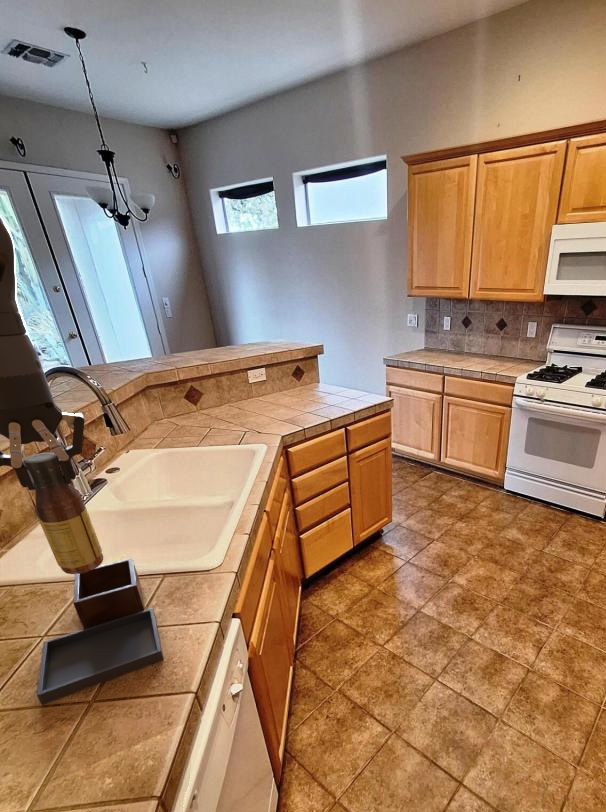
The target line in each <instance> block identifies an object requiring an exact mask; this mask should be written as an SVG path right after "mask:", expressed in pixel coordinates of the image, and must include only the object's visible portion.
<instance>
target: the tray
mask: <svg viewBox="0 0 606 812" xmlns="http://www.w3.org/2000/svg"><path fill="white" fill-rule="evenodd" d="M164 660H165V657H164V653H163V648H162V643H161V638H160V633H159V628H158V622H157V618H156V614H155V609H154V608H153V607H151V608H147V609H145V610H144V611H141V612H138V613H135V614H131V615H128V616H125V617H122V618H119V619H115V620H112V621H109V622H106V623H103V624H99V625H96V626H93V627H90V628H87V629H83V628H82V629H81V630H77V631H74V632H71V633H67V634H64V635H61V636H57V637H55V638H52V639H48V640H45V641H43V644H42V652H41V659H40V668H39V676H38V683H37V691H36V697H37V699H38V701H39V703H40V705H45V704H48V703H51V702H53V701H57V700H58V699H61V698H64V697H67V696H69V695H72V694H75V693H77V692H81V691H83V690H87V689H89V688H91V687H95V686H97V685H100V684H102V683H104V682H107V681H110V680H112V679H116V678H118V677H120V676H124V675H126V674H129V673H132V672H134V671H137V670H140V669H143V668H146V667H148V666H150V665H153V664H156V663H159V662H161V661H164Z"/></svg>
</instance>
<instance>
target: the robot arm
mask: <svg viewBox="0 0 606 812" xmlns="http://www.w3.org/2000/svg"><path fill="white" fill-rule="evenodd" d="M8 226H9V225H7V223H6V221H5V220H4V218H3V217H2V216H1V215H0V435H1V436H3V437H4V438H6V439H7V440H9V441H8V442H9V454H5V453H4V452H3V451H2V449H0V467H10V468H12V469H14V472H15V474H16V477H17V479H18V481H19V484H20V486H21V487H22V488H27V490H28V491H35V486H34V481H33V479H32V477H31V474H30V472H29V470H27V469H26V466H25V464H24V460H25V457H24V456H25V451H24V450H25V449H24V447H25V445H28V444H31V443H33V442H34V443H35V442H36V443H46V444H47V446H48V448H50V449H51V450H52V452H53V453H55V454H56V455H57V456H58V458H59V460H60V461H59V464H60V468H61V470H62V473H63V475H64V478H65V480H66V483H67V484H73V481H74V480H75V479H76V476H77V472H76V469H75V466H74V464H73V463H74V462H73V460H72V459H73V457H75V456H78V455H81V454H82V452H83V442H84V441H83V440H84V433H85V431H84V430H85V415H84V414H83V413H82V412H76V413H75V414H74V413H69V412H63V411H62V409H61V408H59V407H58V406H57V404H56V402H55V400H54V397H53V393H52V391H51V389H50V385H49V382H48V380H47V376H46V374H45V371H44V367H43V366H42V362H41V359H40V355H39V354H38V351H37V349H36V347H35V345H34V343H33V341H32V339H31V336H30V334H29V331H28V329H27V325H26V322H25V320H24V317H23V314H22V312H21V309H20V306H19V304H18V297H17V277H16V254H15V253H16V251H15V244H14V240H13V236H12V233H11V230H10V229H9V227H8ZM62 421H64V422H65V423H66V425H67V427H68V428H69V429H71V430H73V431H72V442H71V445H69V446H67V447H66V445H65V444H64V442H63V441H62V439H61V438H60V437H61V436H59V435H58V433H57V430H58V428H59V426H60V424H61V423H62Z"/></svg>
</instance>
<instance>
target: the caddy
mask: <svg viewBox="0 0 606 812" xmlns="http://www.w3.org/2000/svg"><path fill="white" fill-rule="evenodd" d="M73 580H74V581H73V596H72V597H73V598H72V605H73V606H74V609H75V612H76V614H77V617H78V618H79V622H80V624H81V626H82V630H83V629H87V628H90V627H93V626H96V625H99V624H103V623H106V622H109V621H112V620H115V619H119V618H122V617H125V616H128V615H131V614H135V613H138V612H141V611H144V610H146V608H145V601H144V595H143V591H142V585H141V581H140V578H139V575H138V571H137V568H136V565H135V562H134V559H133V557H130V558H125V559H121V560H117V561H114V562H113V561H112V562H110V563H109V562H108V563H106V564H102V565H99V566H98V567H96V568H94V569H92V570H90V571H88V572H86V573H81V574H74V579H73Z"/></svg>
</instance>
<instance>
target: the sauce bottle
mask: <svg viewBox="0 0 606 812" xmlns="http://www.w3.org/2000/svg"><path fill="white" fill-rule="evenodd" d="M59 461H60V460H59V458H58V456H57V455H56V454H55V452H41V453H37V454H31V455H29V456H27V457H24V464H25V466H26V469H27V470H29V472H30V474H31V477H32V479H33V481H34V486H35V490H34V493H35V507H34V512H35V515H36V517H37V519H38V522H39V524H40V527H41V529H42V531H43V533H44V535H45V539H46V540H47V542H48V545H49V548H50V549H51V552H52V554H53V557H54V559H55V561H56V564H57V566H58V567H60V569H61V570H62V572H64V573H65V574H68V575H75V574H81V573H86V572H88V571H90V570H92V569H94V568H96V567H98V566H101V564H102V563H103V562H104V554H103V549H102V547H101V544H100V541H99V538H98V536H97V533H96V531H95V528H94V525H93V522H92V520H91V517H90V514H89V512H88V508H87V506H86V504H85V503H84V501H83V498H82V495H81V493H80V492H79V491H78V490H77V489H76V488H75V486H73V485H72V484H71V483H69V484H67V483H66V480H65V478H64V475H63V472H62V469H61V467H60V464H59Z"/></svg>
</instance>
